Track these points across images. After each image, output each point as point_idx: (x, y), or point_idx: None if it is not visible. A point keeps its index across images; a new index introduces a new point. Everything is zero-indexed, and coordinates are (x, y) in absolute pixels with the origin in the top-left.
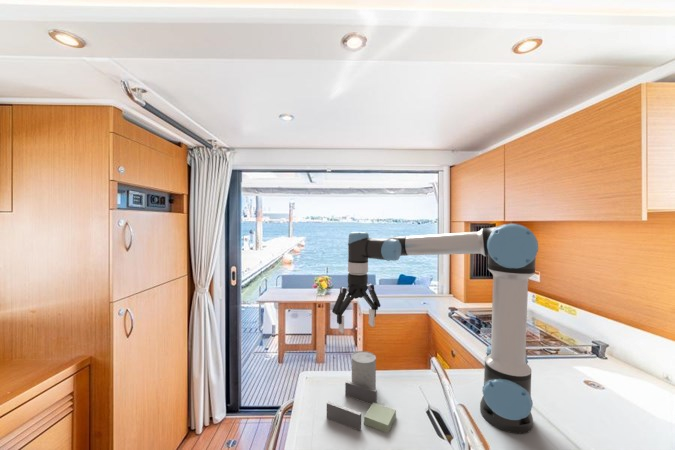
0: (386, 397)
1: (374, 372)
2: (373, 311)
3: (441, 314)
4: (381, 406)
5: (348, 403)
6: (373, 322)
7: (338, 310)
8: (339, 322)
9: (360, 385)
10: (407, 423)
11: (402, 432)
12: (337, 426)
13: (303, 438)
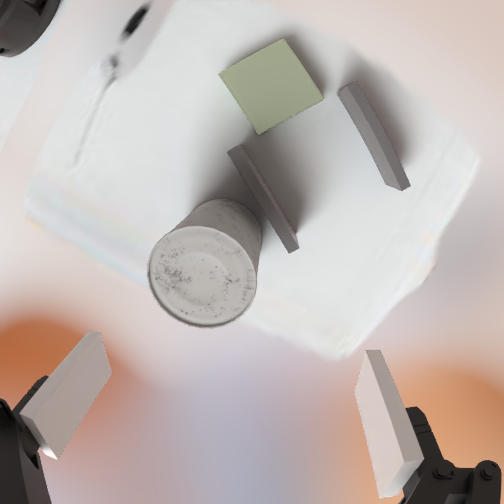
0: (186, 162)
1: (186, 218)
2: (34, 409)
3: None
4: (247, 105)
5: (309, 197)
6: (80, 350)
7: (479, 496)
8: (419, 416)
9: (263, 204)
10: (209, 48)
11: (245, 30)
12: None
13: (463, 154)
